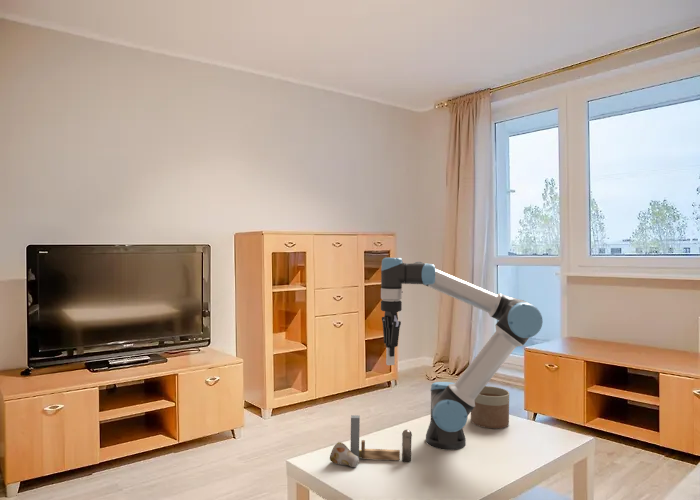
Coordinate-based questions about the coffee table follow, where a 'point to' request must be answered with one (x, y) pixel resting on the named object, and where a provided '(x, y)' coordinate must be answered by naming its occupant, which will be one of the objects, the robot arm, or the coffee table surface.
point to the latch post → (355, 435)
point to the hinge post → (406, 446)
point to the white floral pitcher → (343, 456)
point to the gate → (379, 453)
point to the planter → (491, 408)
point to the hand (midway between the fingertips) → (390, 364)
